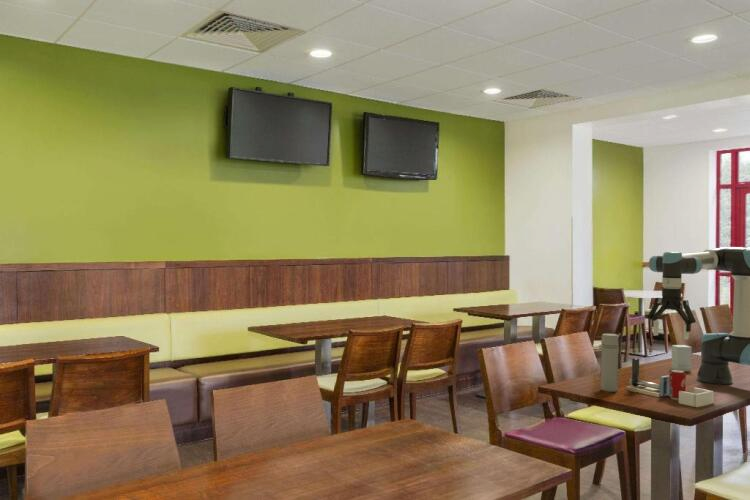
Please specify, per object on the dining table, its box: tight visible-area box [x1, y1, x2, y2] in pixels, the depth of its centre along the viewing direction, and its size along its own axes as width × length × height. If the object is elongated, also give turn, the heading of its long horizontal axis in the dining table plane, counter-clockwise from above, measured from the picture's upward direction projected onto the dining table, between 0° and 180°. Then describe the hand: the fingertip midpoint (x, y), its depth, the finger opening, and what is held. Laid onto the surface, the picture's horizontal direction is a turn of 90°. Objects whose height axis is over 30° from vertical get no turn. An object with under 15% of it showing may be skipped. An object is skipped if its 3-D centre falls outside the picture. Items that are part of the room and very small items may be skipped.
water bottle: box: [595, 333, 619, 393], centre depth 290 cm, size 9×8×25 cm
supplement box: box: [670, 344, 693, 372], centre depth 339 cm, size 7×7×13 cm
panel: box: [625, 385, 668, 398], centre depth 287 cm, size 8×16×2 cm, turn 34°
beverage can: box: [668, 369, 687, 401], centre depth 276 cm, size 6×6×12 cm
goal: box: [678, 387, 715, 408], centre depth 269 cm, size 12×8×5 cm, turn 124°
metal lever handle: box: [628, 357, 669, 397], centre depth 287 cm, size 18×7×13 cm, turn 34°
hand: (670, 337), depth 279 cm, fingers open, 13 cm apart
